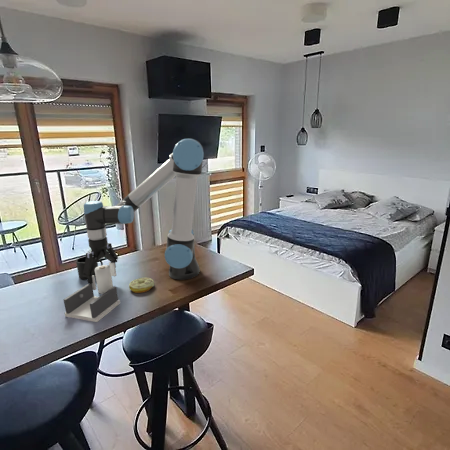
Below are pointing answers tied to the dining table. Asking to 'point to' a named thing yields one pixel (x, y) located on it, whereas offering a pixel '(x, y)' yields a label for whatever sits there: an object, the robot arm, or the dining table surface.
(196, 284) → the dining table surface
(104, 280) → the roll
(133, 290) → the decorated donut
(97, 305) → the cradle
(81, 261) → the mug
